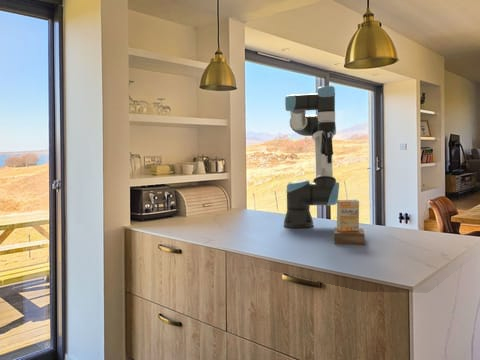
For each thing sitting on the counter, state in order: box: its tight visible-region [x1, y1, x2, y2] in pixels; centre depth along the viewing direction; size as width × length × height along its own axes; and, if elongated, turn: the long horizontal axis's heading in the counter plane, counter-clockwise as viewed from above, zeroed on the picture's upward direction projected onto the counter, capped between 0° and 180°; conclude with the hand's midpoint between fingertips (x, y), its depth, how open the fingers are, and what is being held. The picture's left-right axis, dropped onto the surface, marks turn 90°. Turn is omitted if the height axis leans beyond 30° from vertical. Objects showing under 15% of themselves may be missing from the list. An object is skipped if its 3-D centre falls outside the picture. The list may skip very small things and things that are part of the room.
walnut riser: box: [333, 227, 365, 246], centre depth 172 cm, size 12×12×5 cm
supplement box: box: [336, 199, 360, 232], centre depth 171 cm, size 8×5×13 cm, turn 92°
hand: (326, 169), depth 182 cm, fingers open, 13 cm apart
